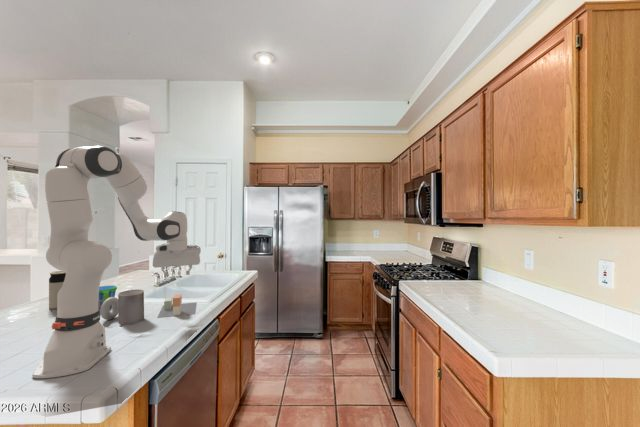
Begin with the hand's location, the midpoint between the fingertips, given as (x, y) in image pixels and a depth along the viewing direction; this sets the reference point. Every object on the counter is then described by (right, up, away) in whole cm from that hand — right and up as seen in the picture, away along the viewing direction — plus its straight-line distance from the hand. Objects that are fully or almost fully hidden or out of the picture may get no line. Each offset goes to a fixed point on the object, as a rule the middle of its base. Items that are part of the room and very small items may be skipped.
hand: (176, 275), depth 144 cm
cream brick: (0, -18, 0) cm, 18 cm away
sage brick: (-8, -18, +9) cm, 21 cm away
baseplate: (-2, -19, +6) cm, 20 cm away
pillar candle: (-15, -19, -10) cm, 26 cm away
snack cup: (-43, -19, +12) cm, 48 cm away
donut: (-28, -19, -5) cm, 34 cm away
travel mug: (-66, -19, +13) cm, 70 cm away
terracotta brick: (0, -14, 0) cm, 14 cm away
